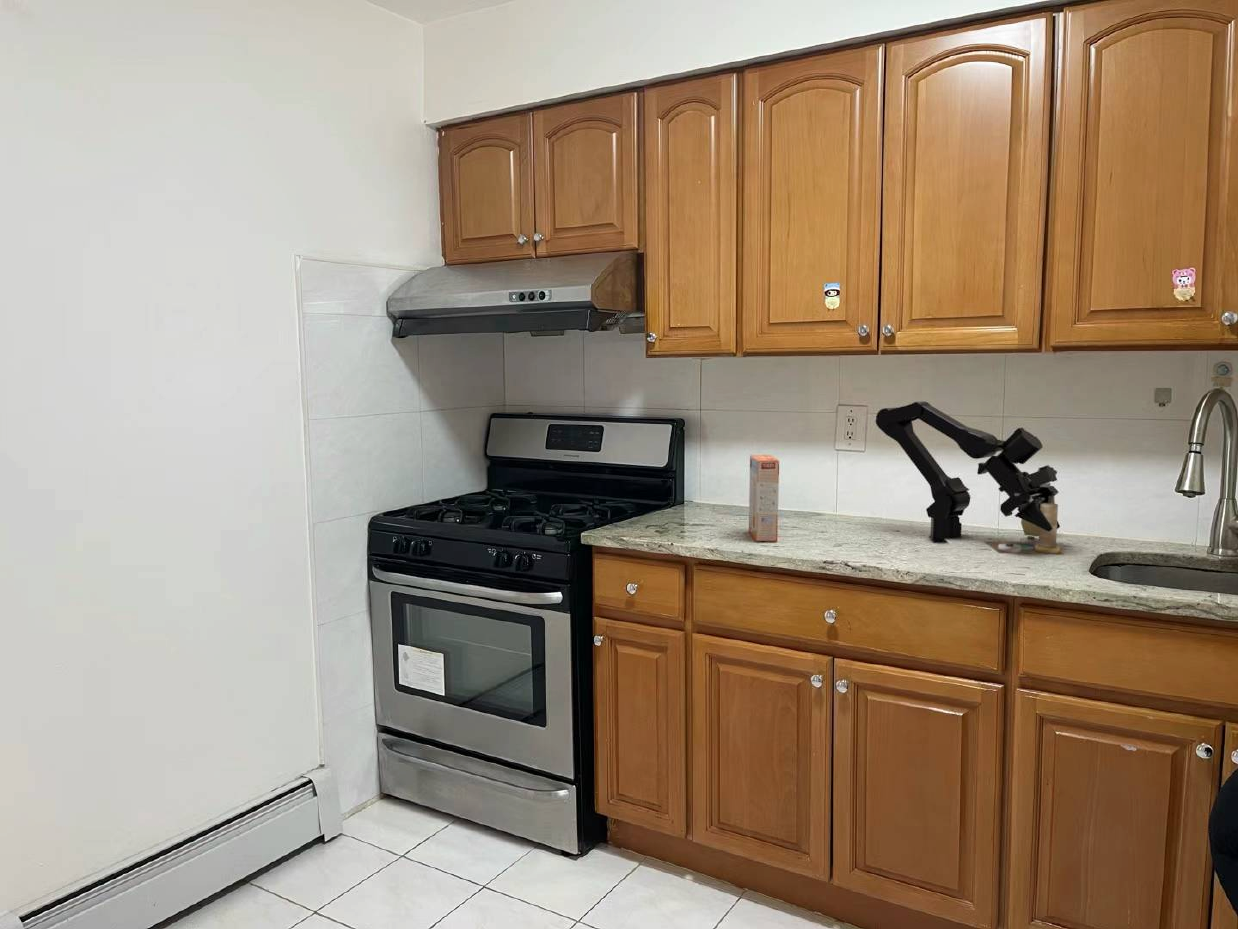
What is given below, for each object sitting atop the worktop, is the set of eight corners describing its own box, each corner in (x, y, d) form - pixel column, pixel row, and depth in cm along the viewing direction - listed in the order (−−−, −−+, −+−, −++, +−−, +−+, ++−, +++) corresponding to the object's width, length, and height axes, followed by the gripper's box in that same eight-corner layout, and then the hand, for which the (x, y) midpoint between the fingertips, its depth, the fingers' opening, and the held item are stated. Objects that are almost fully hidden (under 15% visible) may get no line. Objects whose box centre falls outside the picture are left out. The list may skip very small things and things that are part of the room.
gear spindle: (1038, 553, 202) (1040, 505, 201) (1031, 548, 207) (1033, 502, 206) (1063, 553, 201) (1065, 506, 200) (1055, 549, 206) (1057, 502, 205)
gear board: (998, 558, 203) (999, 545, 203) (983, 546, 217) (984, 534, 216) (1063, 559, 201) (1064, 546, 201) (1044, 547, 214) (1045, 535, 214)
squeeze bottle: (1035, 542, 221) (1039, 470, 219) (1013, 536, 229) (1016, 466, 226) (1062, 540, 223) (1066, 469, 221) (1039, 534, 231) (1042, 465, 229)
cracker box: (779, 542, 223) (780, 459, 220) (755, 542, 223) (755, 459, 221) (770, 532, 237) (771, 453, 234) (748, 532, 237) (748, 454, 234)
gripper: (1016, 457, 199) (1064, 512, 192) (1051, 451, 211) (1098, 502, 204) (980, 489, 205) (1026, 542, 198) (1017, 481, 218) (1061, 532, 211)
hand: (1054, 529), depth 203 cm, fingers closed on gear spindle, 4 cm apart
